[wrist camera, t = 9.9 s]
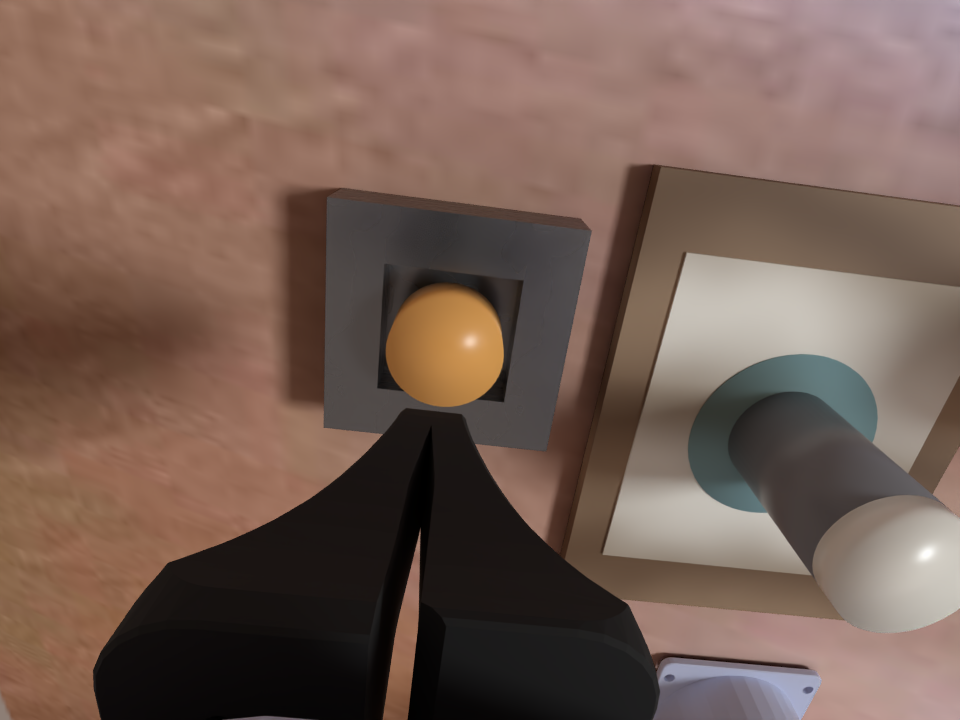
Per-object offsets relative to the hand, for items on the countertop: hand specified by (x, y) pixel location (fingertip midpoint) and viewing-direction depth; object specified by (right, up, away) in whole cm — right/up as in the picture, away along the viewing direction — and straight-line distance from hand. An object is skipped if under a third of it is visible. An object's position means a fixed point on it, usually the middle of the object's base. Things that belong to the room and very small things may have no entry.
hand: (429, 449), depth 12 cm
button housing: (0, +4, +8) cm, 9 cm away
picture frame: (+13, -1, +10) cm, 16 cm away
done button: (0, +3, +6) cm, 7 cm away
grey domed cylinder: (+13, -1, +9) cm, 15 cm away
